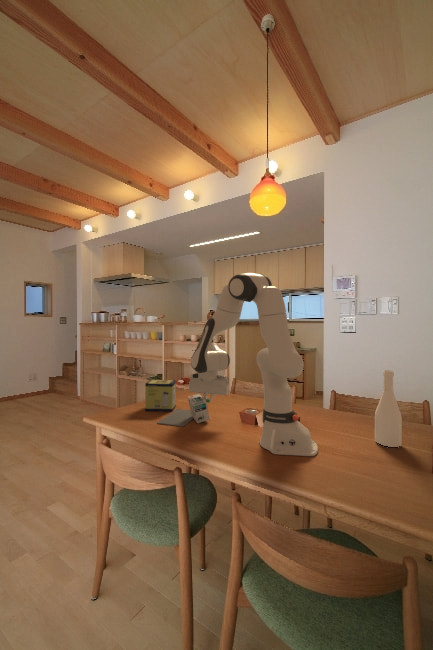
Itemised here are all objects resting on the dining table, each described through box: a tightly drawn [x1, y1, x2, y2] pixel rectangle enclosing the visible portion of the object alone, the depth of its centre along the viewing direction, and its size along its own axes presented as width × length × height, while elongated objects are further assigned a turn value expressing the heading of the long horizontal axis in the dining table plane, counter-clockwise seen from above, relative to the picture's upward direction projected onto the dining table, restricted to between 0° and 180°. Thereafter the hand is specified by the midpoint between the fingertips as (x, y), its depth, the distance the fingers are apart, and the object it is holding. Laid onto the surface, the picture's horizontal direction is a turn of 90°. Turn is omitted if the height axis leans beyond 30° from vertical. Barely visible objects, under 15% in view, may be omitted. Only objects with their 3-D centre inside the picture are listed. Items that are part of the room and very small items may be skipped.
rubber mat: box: [156, 408, 194, 428], centre depth 152 cm, size 14×24×1 cm, turn 163°
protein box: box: [144, 379, 177, 413], centre depth 168 cm, size 10×16×16 cm
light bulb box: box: [187, 393, 210, 424], centre depth 148 cm, size 11×7×11 cm, turn 22°
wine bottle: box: [374, 369, 403, 448], centre depth 121 cm, size 10×10×30 cm
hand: (208, 402), depth 148 cm, fingers closed
